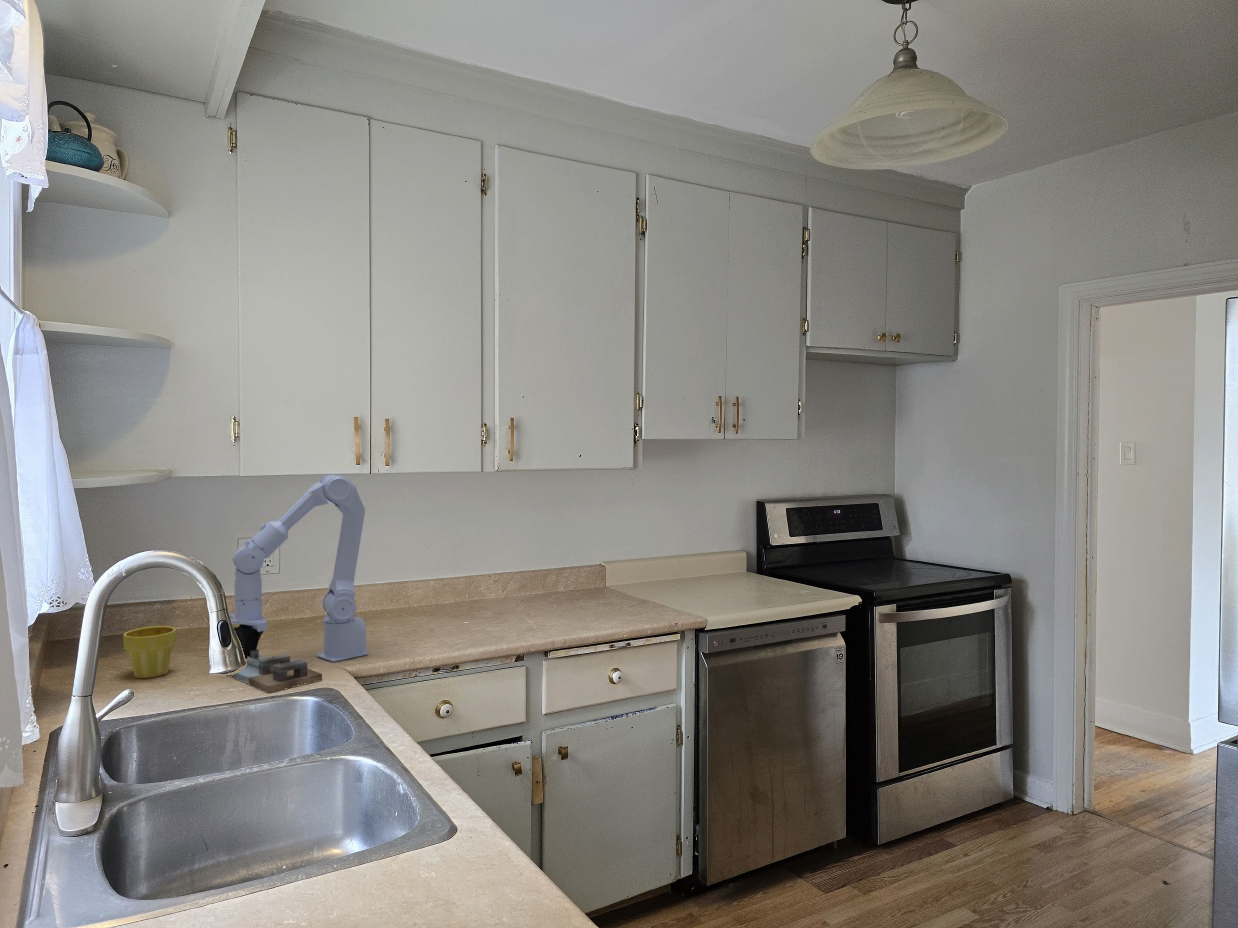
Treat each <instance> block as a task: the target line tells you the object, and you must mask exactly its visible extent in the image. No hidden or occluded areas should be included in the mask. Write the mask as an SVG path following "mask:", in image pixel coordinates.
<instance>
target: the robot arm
mask: <svg viewBox="0 0 1238 928" xmlns="http://www.w3.org/2000/svg"><path fill="white" fill-rule="evenodd" d="M328 501H329V502H331V503H332V504H334V507H336V508H337V509H338V510H339V512H340V513H341V514H342V519H341V525H340V532H339V538H338V544H337V549H336V550H337V551H336V556H335V562H334V568H333V574H332V575H333V576H332V578H331V581H330V583H329V584H328V585H329V586H328V590H327V593H326V594H325V595H324V597H323V599H322V607H323V610H324V611H325V613H326V614H325V617H324V618H323V652H322V653H321V652H320V653H317V654H316V657H318V658H320V659H323V660H327V661H330V662H333V663H334V662H340V661H344V660H348V659H354V658H358V657H362V656H367V655H369V652H368V651H367V626H366V623H365V621H364V619H363V618H362V617H360V616H355V615H356V611H357V603H356V601H355V593H356V589H355V583H354V581H355V575H356V570H357V564H358V556H359V551H360V547H361V546H360V544H361V538H362V532H363V527H364V526H363V525H364V521H365V520H364V519H365V515H366V514H365V513H366V508H365V505H364V503H363V501H362V499H361V497H360V495H359V492H358V490H357V486H356V485H355V484H354V483H352V481H350V479H348V478H347V477H345V476H343V475H338V474H336V473H335V474H333V473H331V474H326V475H325V476H323V477H322V478H321V480H319V481H317V482H316V483H315V484H313V485H312V486H311V487H310V488H308V489H307V491H306V492H304V493H303V495H302V496H301V497H299V498H298V499H297V501H295V503H294V504H293V505H292V506H291V507H290V508H289V509H288V510H287V511H286V512H285V513H284V514H283V515H282V516H281V517H280V518H279V519H278V520H273V521H271V520H270V521H268V522H267V523H266V524H265V523H262V524H261V525H260V526H259V528H260V529H259V530H258V531H257V533H255V534H254V535H253V536H252V537H251V538H250V539H249V540H248V539H246V540H245V541H244V545H245V546H241V547H239V548H238V549H237V550H236V551H235V552H234V554H233V558H232V563H233V565H234V567H236V568H235V569H234V570H235V571H234V581H233V583H234V613H230V616H229V617H231V621H232V625H238V626H236V627H233V628H234V630H235V631H236V634H237V636H238V638H239V640H240V642H241V645H242V648H243V652H244V655H245V658H244V659H247V656H250V650H252V649H258V645H259V641H260V639H261V636H262V635H263V633H264V632H265V631H269V630H268V627H269V626H268V621H266V620H265V618H264V616H263V599H262V598H263V594H262V593H263V592H262V591H263V590H262V580H263V579H262V577H261V569H262V567H263V566H264V563H265V562H264V561H265V559H267V558H269V557H270V556H271V555H272V554H274V553H275V552H276V551H277V549H278V548H280V546H282V545H283V544H284V543H285V542H286V541H287V540H288V539H289V538H288V537H289V530H290V529H292V527H294V526H295V525H297V523H298V522H300V520H301V519H303V518H304V516H306V515H307V514H308V513H310V511H311V510H312V509H314V508H315V507H319V506H323V505H328V504H329V502H328ZM237 636H236V637H237ZM238 638H237V639H238Z"/></svg>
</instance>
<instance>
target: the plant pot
mask: <svg viewBox="0 0 1238 928" xmlns="http://www.w3.org/2000/svg"><path fill="white" fill-rule="evenodd" d="M122 638H123V649H124V650H125V651H127V654H128V657H129V661H130V665H131V668H132V672H133V675H134V678H137V679H138V678H139V679H150V678H156V677H157V678H158V677H160V676H161V677H162V676H163V675H166V674H168V672H169V669H170V665H171V659H172V654H173V648H174V645H176V643H177V628H176V627H174V626H170V625H156V626H155V625H154V626H145V627H140V628H135V629H131V630H128V631H126V632H124V633H123V635H122Z"/></svg>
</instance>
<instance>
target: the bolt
mask: <svg viewBox="0 0 1238 928" xmlns="http://www.w3.org/2000/svg"><path fill="white" fill-rule="evenodd" d="M261 659H266V657H265V656H263V655H260V650H259V648H257V649H252V650H250V656H247V663H248V664H250V665H253V666H255V667H258V668H259V660H261ZM277 664H281V663H276V664H271V665H270V673H271V672H273V665H277Z"/></svg>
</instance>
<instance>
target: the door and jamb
mask: <svg viewBox="0 0 1238 928" xmlns="http://www.w3.org/2000/svg"><path fill="white" fill-rule="evenodd" d="M245 662H247V661H245ZM276 663H281V664H277V665H273V672H271V673H270V665H271V664H276ZM230 676H232V677H231V678H233V679H235V678H238V679H239V680H242V681H245V682H247V683H249V684H250V685H249V684H248V685H249V686H251V685H253V686H255V687H257V688H256V689H258V688H260V689H262V690H264V691H263V692H265V691H266V692H265V693H267V692H268V693H267V694H271V693H270V692H272V693H275V692H274V691H276V692H278V691H277V690H280V691H283V690H282V689H284V690H286V689H285V688H289V689H291V688H290V687H293V686H297V685H301V684H304V683H309V682H314V681H318V680H322V681H323V673H320V672H318V671H315V670H313V669H310V668H309V667H308V662H307V661H306V660H302V659H297V660H292V661H291V655H289V654H281V655H276V656H275V655H271V656H267V657H266V659H261V660H259V668H258V667H255V666H253V665H250V664H248V663H247V665H246V667H245V668H244V669H242V670H241V671H240V672H238V673H236V674H234V675H229V677H230ZM239 680H238V681H239ZM242 681H241V682H242ZM318 682H319V681H318ZM314 683H315V682H314ZM253 686H252V687H253ZM301 686H302V685H301ZM255 687H254V688H255ZM297 687H298V686H297ZM293 688H294V687H293ZM260 689H259V690H260ZM262 690H261V691H262Z"/></svg>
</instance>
